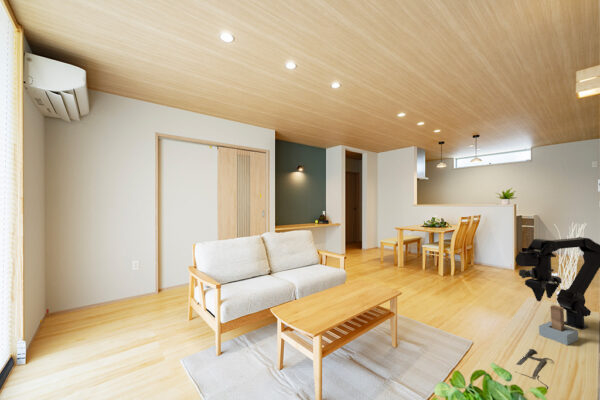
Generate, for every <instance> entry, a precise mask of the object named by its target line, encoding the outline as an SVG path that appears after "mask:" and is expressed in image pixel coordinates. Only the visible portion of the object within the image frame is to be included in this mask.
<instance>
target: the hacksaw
mask: <svg viewBox="0 0 600 400" xmlns="http://www.w3.org/2000/svg"><path fill="white" fill-rule="evenodd" d="M537 353H538V352H537V350H536V349H534V348H529V349H528V352H526V353H525V355H524V356H522V357H523V358H522V357H521V358H522V359H521V358H520V359H519V360H518V362H517V363H516V364H515V365H516V366H522V364H523V363H524V362H525V361H526V360H528V358H529V359H532V360H534V361H539V363H538V364H537V366H536V367H535V369H534V371H533V374H532V376H529V375H527V374H524V373H520V372H517V371H515V373H517V374H520V375H521V376H525V377H527V378H529V379H532V380H535V381H536V380H537V381H538V382H540V383H541V384H542V385H544V386H545V387H546V388H547V389H546V390H549V386H548V385H547V384H545V383H543V382H542V381H540V380H539V378H540V375H539V373H540V372H541V370H542V368H543V367H545V364H546V363H547V360H550V364H552V363H553V362H554V361H553V359H551V358H549V357H542V358H540V357H535V356H533V355H536V354H537ZM526 357H527V358H526Z"/></svg>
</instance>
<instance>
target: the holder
mask: <svg viewBox="0 0 600 400" xmlns="http://www.w3.org/2000/svg"><path fill="white" fill-rule="evenodd" d="M564 328H565V331H563V332H562V331H559V330H556V329H553V328H552V326H551V321H548V322H545V323H542V324H540V325H538V333H539V334H538V335H539V336H542V337H544V338H547V339H550V340H552V341H555V342H557V343H560V344H564V345H566V346H569V345H572V344H573V343H575V342H577V341H579V330H578V329H576V328H572V327H568V326H566V325H564Z"/></svg>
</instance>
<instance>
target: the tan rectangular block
mask: <svg viewBox="0 0 600 400" xmlns="http://www.w3.org/2000/svg"><path fill="white" fill-rule="evenodd" d="M550 322H551V326H552V328H553V329H556V330H559V331H562V332H563V331H565V328H564V326H565V324H564V322H565V309H564V308H563V307H560V305H556V304H553V305H550Z"/></svg>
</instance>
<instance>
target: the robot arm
mask: <svg viewBox="0 0 600 400" xmlns="http://www.w3.org/2000/svg"><path fill="white" fill-rule="evenodd" d="M570 248H571V249H573V248H579V250H580V251H581V252H582V258H583V263H582V265H581V267H580V269H579V271H578V272H577V274H576V276H575V278H574V279H573V280H572V282H571V285H570V286H569V288H567V289H563V288H561V289H560V290H559V293H557V295H556V301H557V303H558V306H560V307H563V308H564V311H565V319H566V320H564V325H565V326H566V325H567V326H570V327H571V328H572V327H573V328H574V329H579V330H584V329H586V328H589V325H588V324H585V323H586V322H585V317H586V318H587V317H588V316H591V313H592V310H590V309H589V307H587V306H585V304H586V297H585V293H586V291H588V289H589V287H590V285H591V283H592V281H593V279H594V278H595V276H596V275H597V273H598V271H599V270H600V244H599V243H598V242H595V241H594V240H593V239H592V238H588V237H580V236H578V237H572V238H560V239H559V238H558V239H546V238H545V239H544V238H533V239H532V241H531V243H530V244H529V246H527V248H526V249H525V251H519V252H518V254H516V256H515V258H514V259H515V263H516V264H517V266H519V267H532V268H531V269H528V270H527V269H524V268H523V269H519V270H518V271H519V272H518V276H520V277H521V279H525V280H524V285H525V286H527V287H528V288H529V289H531V290H532V292H533V295H534V296H535V299H536V301H537V302H541V301H542V299H543V296H544V295H545V293H546V298H547V299H552V297H553V295H554V293H555V292H556V290H557V289H558V287H559V286H560V285H561V284H562V278H561V277H560V276H557V275H552V272H554V271H555V270H554V268H552V258H557V255H556V254H554V252H557V251H558V250H560V249H563V250H564V249H570ZM526 278H527V279H526Z"/></svg>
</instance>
